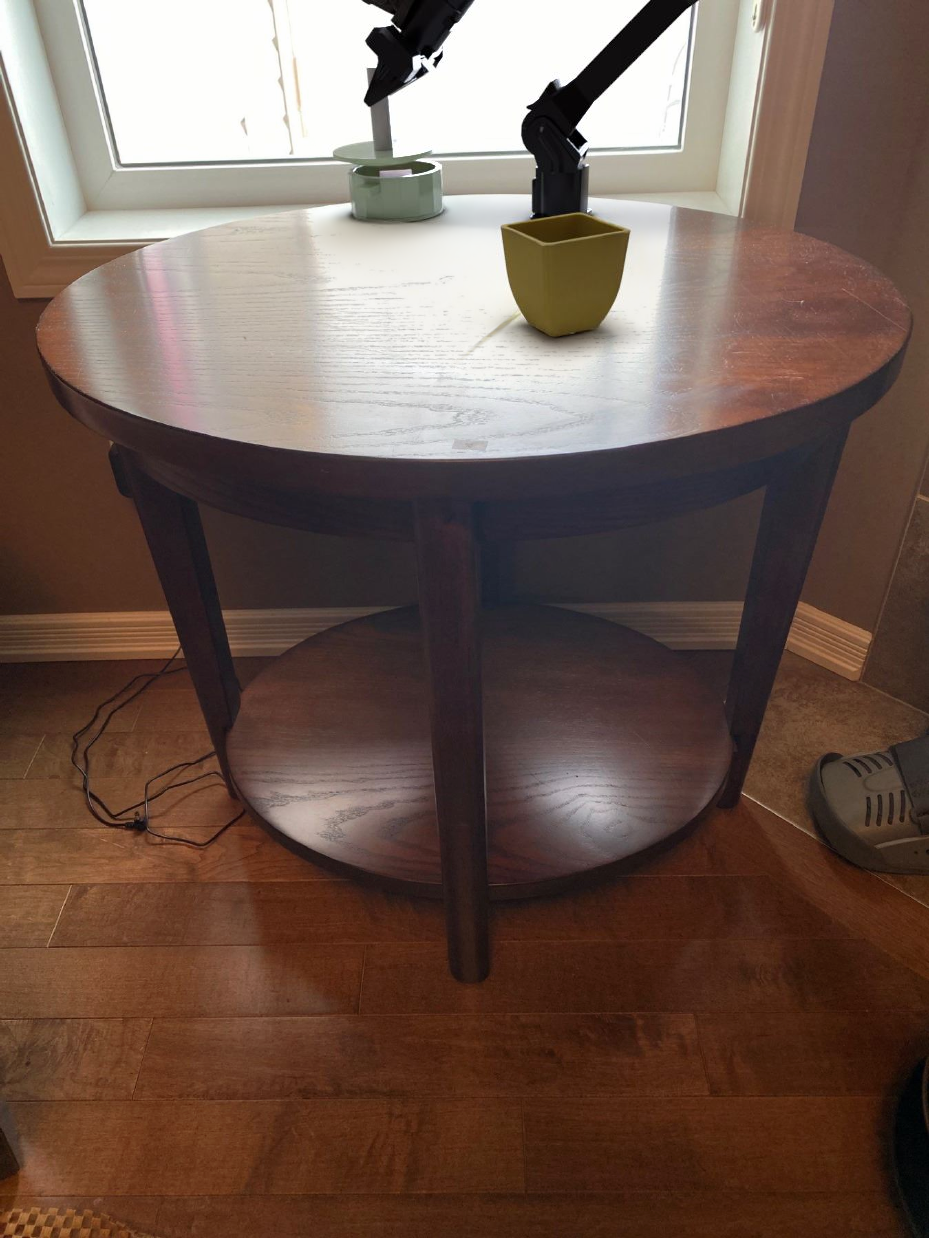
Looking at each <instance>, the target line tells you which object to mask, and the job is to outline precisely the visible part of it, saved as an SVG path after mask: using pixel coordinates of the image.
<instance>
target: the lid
mask: <svg viewBox="0 0 929 1238" xmlns="http://www.w3.org/2000/svg"><path fill="white" fill-rule="evenodd" d="M376 66H377V64H374V65H373V64H372V65H366V67H365V68H366V78H367V88H368V87H369V85H370V82H371V80H372V77H373V74H374V72H375V69H376ZM369 110H370V120H371V130H372V140H370V141H369V140H368V141H361V142H355V143H350V144H346V145H342V146H340V147H337V148H335V149H334V150H333V151H332V158H333V159H334V160H335V161H338V162H341V163H348V164H351V165H355V166H358V165H363V166H385V165H396V164H403V163H408V162H412V161H415V160H421V159H422V158H426V157H430V156H431V155H433V154H434V153H435V152H436V146H435V145H436V144H434V143H433V142H430V141H426V140H418V139H394V135H393V125H392V111H391V98H390V96H388V97H386V98H384V99H383V100H381V101H379V102H378V103H376V104H374V105H373V106H371V107H369Z"/></svg>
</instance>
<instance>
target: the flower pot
mask: <svg viewBox="0 0 929 1238" xmlns="http://www.w3.org/2000/svg"><path fill="white" fill-rule="evenodd" d="M500 232H501V241H502V249H503V256H504V263H505V268H506V269H505V270H506V276H507V281H508V285H509V289H510V291H511V294H512V296H513V299H514V302H515V303H516V306H517V307H518V309H519V311H520V312H521V314H522V316H523V318H524V320H525V321H526V323H527V324H528V325H530V326H533V327H534V328H536V329H537V330H540V331H541V332H543V333H545V334H546V335H547V336H549V337H554V338H555V337H560V336H565V335H570V334H575V333H579V332H584V331H590V330H595V329H598V328H599V326H600V325H601V324H602V323H603V321H604V320H605V319H606V317H607V316H608V314H609V313H610V311H611V309H612V307H613V306H614V303H615V301H616V299H617V297H618V294H619V291H620V289H621V285H622V280H623V275H624V271H625V265H626V258H627V254H628V253H627V252H628V247H629V243H630V242H629V241H630V235H631V229H629V228H627V227H625V226H621V225H617V224H615V223H612V222H609V221H606V220H603V219H600V218H598V217H595V216H593V215H591V214H589V215H588V214H584V213H572V214H566V215H560V216H554V217H548V218H541V219H535V220H530V219H529V220H523V221H516V222H511V223H504V224H500Z"/></svg>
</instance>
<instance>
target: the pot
mask: <svg viewBox="0 0 929 1238" xmlns="http://www.w3.org/2000/svg"><path fill="white" fill-rule="evenodd" d="M409 169H411V171H412V175H409V176H400V177H380V171H391V170H409ZM347 177H348V186H349V195H350V197H349V198H350V206H351V212H352V216H353V217H354V218H355V219H358V220H370V221H382V222H396V223H410V222H411V223H412V222H417V221H422V220H427V219H430V218H434V217H437V216H438V215H440V214H442V213H443V212H444V206H445V205H444V204H445V202H444V201H445V199H444V183H443V181H444V180H443V179H444V178H443V165H442V164H440V163H439V162H437V161H431V160H425V159H418V160H415V161H412V162H408V163H403V164H396V165H385V166H363V165H355V166H353V167H350V168H349V170H348V171H347Z"/></svg>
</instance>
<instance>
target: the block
mask: <svg viewBox="0 0 929 1238" xmlns="http://www.w3.org/2000/svg"><path fill="white" fill-rule="evenodd" d="M409 175H412V171H411V169H409V170H391V171H380V177H400V176H409Z"/></svg>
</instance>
